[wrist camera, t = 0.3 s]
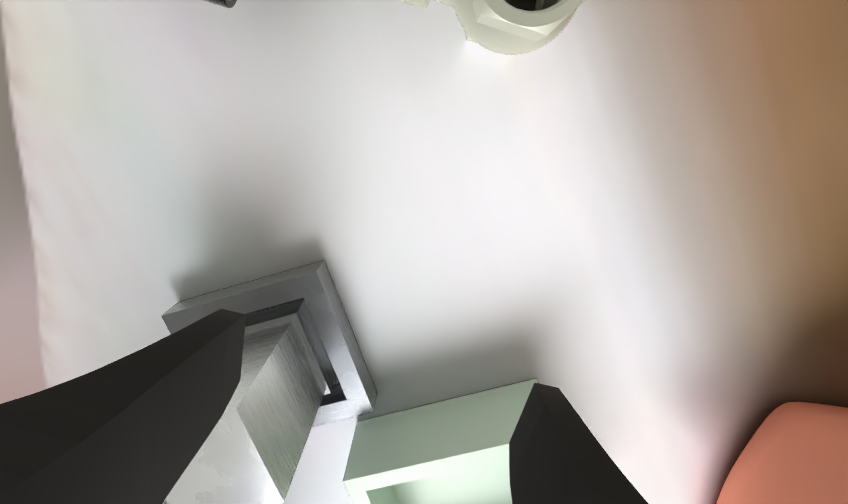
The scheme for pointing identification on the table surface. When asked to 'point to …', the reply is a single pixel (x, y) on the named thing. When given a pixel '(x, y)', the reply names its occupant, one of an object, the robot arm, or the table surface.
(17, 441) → the robot arm
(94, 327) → the table surface
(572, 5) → the valve
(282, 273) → the socket
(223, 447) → the strut
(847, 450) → the teapot
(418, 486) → the bin
